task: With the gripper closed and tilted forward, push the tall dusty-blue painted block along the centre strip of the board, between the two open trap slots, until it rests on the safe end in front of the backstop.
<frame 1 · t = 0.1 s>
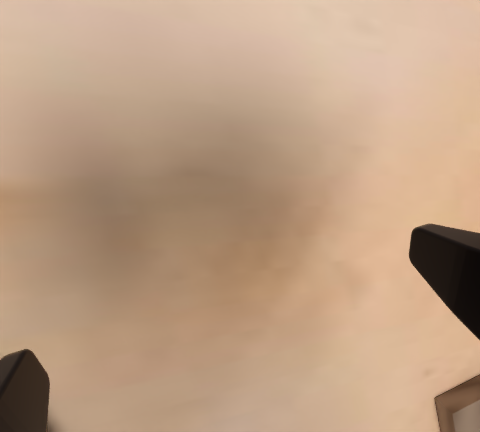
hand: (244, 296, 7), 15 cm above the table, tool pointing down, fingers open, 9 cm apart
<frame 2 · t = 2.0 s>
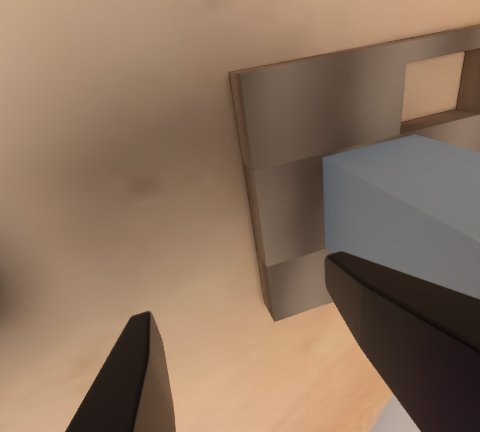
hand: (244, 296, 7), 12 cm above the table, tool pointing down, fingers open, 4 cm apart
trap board: (412, 164, 22), on the table
blue block: (368, 192, 20), point 2 cm above the table, touching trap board
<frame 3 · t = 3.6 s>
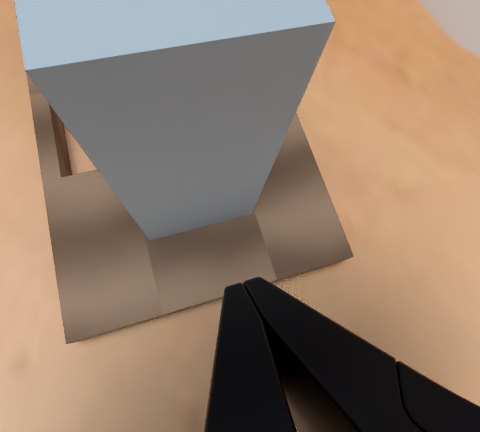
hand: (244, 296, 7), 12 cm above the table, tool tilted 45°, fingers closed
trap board: (172, 128, 22), on the table
blue block: (189, 179, 19), point 2 cm above the table, touching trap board
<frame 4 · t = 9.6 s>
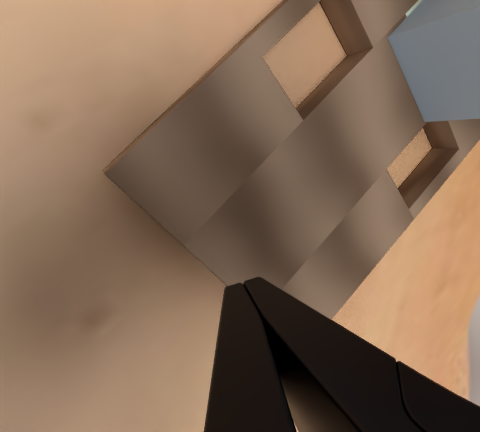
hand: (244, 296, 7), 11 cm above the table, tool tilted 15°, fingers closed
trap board: (340, 130, 21), on the table
blue block: (435, 50, 20), point 2 cm above the table, touching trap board
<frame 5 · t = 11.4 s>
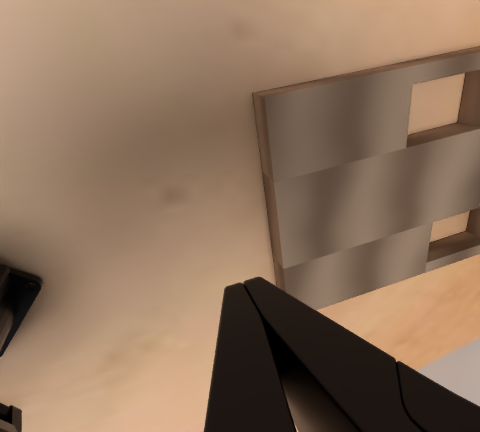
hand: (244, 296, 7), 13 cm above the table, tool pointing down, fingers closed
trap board: (417, 173, 24), on the table
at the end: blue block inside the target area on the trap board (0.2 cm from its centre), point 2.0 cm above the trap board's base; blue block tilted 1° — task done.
